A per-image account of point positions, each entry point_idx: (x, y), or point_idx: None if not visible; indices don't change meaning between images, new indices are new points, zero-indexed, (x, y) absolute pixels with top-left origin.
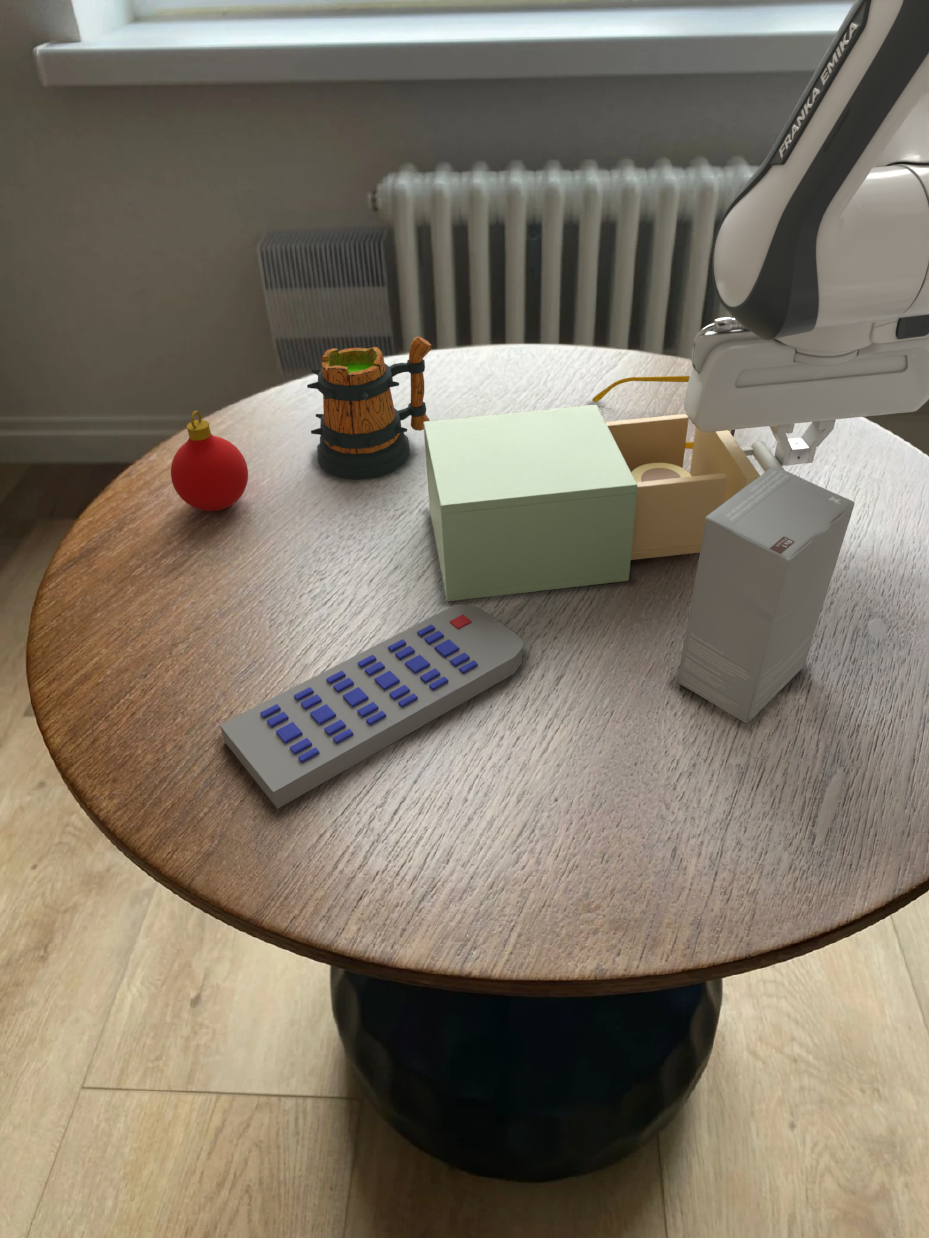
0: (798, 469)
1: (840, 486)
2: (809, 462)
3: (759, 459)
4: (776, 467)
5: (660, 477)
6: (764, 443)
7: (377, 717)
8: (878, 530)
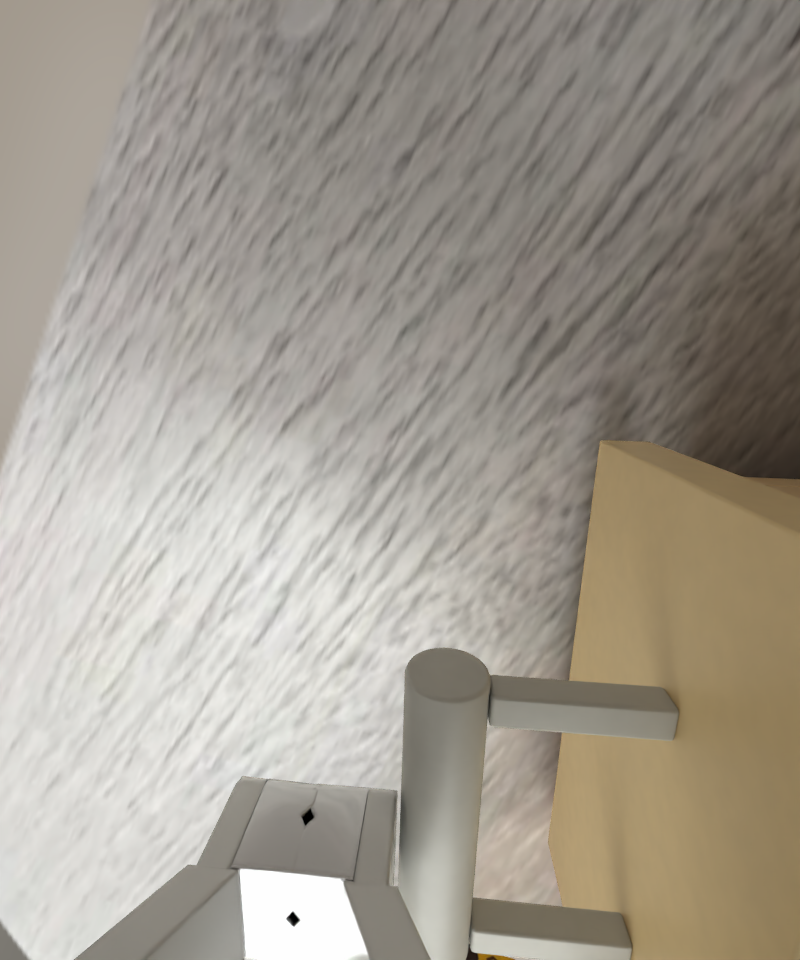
0: None
1: (148, 720)
2: (256, 779)
3: (475, 860)
4: (454, 775)
5: None
6: None
7: None
8: (114, 505)
